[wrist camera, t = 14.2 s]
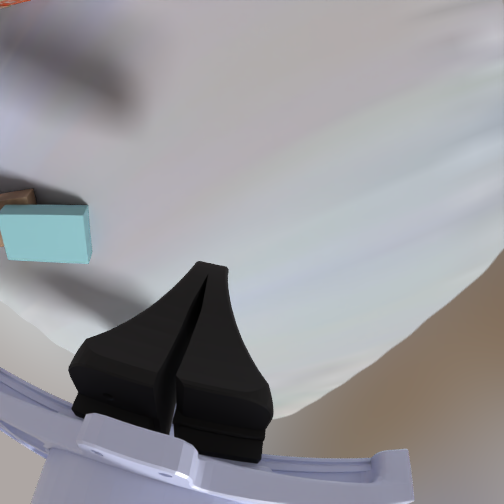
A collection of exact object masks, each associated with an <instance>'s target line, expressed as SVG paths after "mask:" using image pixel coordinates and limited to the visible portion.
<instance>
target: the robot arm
mask: <svg viewBox="0 0 504 504" xmlns="http://www.w3.org/2000/svg"><path fill="white" fill-rule="evenodd" d="M228 270H229V269H228V268H227V267H225V266H220V265H215V264H211V263H206V262H201V261H198V262H196V263H195V265H194V266H193V267H192V268H191V270H190V271H189V272H188V273H187V274H186V275H185V276H184V277H183V278H182V279H181V280H180V281H179V282H178V283H177V284H176V285H175V286H174V287H173V288H172V289H171V290H170V291H169V292H168V293H166V294H165V295H164V296H163V297H162V298H161V299H159V300H158V301H157V302H156V303H154V304H153V305H152V306H150V307H149V308H148V309H146V310H145V311H143V312H142V313H140V314H138V315H137V316H135V317H134V318H132V319H130V320H129V321H127V322H125V323H123V324H121V325H119V326H117V327H115V328H113V329H111V330H109V331H107V332H104V333H101V334H99V335H96V336H93V337H91V338H88V339H86V340H85V341H84V343H83V344H82V345H81V346H80V348H79V349H78V351H77V353H76V354H75V356H74V358H73V360H72V362H71V364H70V366H69V370H68V371H69V374H70V377H71V378H72V381H73V383H74V385H75V387H76V389H77V390H78V395H77V397H76V399H75V401H74V403H73V404H72V403H70V402H68V401H65V400H63V399H61V398H59V397H56V396H54V395H52V394H50V393H48V392H46V391H44V390H42V389H40V388H38V387H36V386H34V385H32V384H30V383H28V382H26V381H24V380H22V379H20V378H19V377H17V376H15V375H13V374H11V373H10V372H8V371H6V370H4V369H3V368H1V367H0V430H1V431H2V432H4V433H5V434H7V435H8V436H10V437H11V438H13V439H14V440H16V441H17V442H19V443H20V444H22V445H23V446H25V447H27V448H28V449H30V450H31V451H33V452H35V453H36V454H38V455H40V456H42V457H44V458H45V459H46V461H45V464H44V467H43V469H42V472H41V475H40V478H39V481H38V484H37V487H36V489H35V492H34V495H33V498H32V501H31V504H408V503H411V502H413V501H414V491H413V482H412V473H411V466H410V459H409V452H408V450H407V449H398V450H385V451H381V452H378V453H376V454H375V455H374V456H373V457H372V458H351V459H350V458H349V459H348V458H344V459H343V458H340V459H339V458H337V459H336V458H331V459H330V458H305V457H290V456H278V455H268V454H262V446H263V441H264V439H265V429H266V428H267V426H268V425H269V423H270V422H271V420H272V418H273V402H272V396H271V392H270V388H269V384H268V383H267V382H266V380H265V379H264V377H263V376H262V374H261V373H260V372H259V370H258V368H257V367H256V365H255V363H254V362H253V360H252V358H251V356H250V354H249V352H248V350H247V348H246V347H245V345H244V342H243V340H242V338H241V335H240V333H239V330H238V327H237V325H236V321H235V318H234V315H233V311H232V307H231V302H230V297H229V290H228Z"/></svg>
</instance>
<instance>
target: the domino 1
mask: <svg viewBox="0 0 504 504" xmlns="http://www.w3.org/2000/svg"><path fill="white" fill-rule="evenodd" d="M4 205H37V203H36V199H35V194H34V190H33V189H26V190H20V191H14V192H8V193H2V194H0V210H1V209H2V208H3V206H4ZM3 246H4V243H3V239H2V235H1V231H0V247H3Z"/></svg>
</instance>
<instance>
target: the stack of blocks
mask: <svg viewBox="0 0 504 504" xmlns="http://www.w3.org/2000/svg"><path fill="white" fill-rule="evenodd" d="M26 1H30V0H0V9H2V8H6V7H10V6H11V5H13V4H17V3H22V2H26Z"/></svg>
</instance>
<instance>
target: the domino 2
mask: <svg viewBox="0 0 504 504" xmlns="http://www.w3.org/2000/svg"><path fill="white" fill-rule="evenodd" d="M0 231H1V235H2V239H3V243H4V246H5V250H6V254H7V257H8V260H20V261H39V262H59V263H81V264H89V261H90V258H91V254H92V246H91V236H90V225H89V212H88V205H4V206H3V208H2V209H1V210H0Z"/></svg>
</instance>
